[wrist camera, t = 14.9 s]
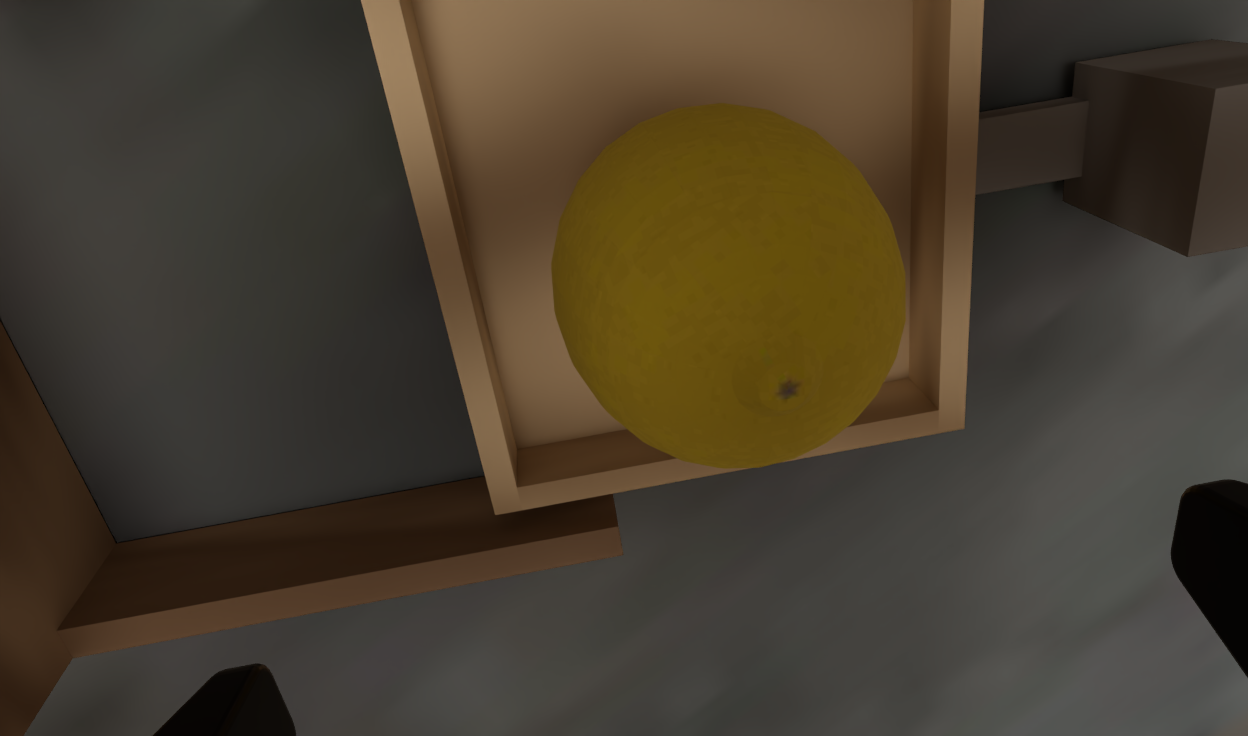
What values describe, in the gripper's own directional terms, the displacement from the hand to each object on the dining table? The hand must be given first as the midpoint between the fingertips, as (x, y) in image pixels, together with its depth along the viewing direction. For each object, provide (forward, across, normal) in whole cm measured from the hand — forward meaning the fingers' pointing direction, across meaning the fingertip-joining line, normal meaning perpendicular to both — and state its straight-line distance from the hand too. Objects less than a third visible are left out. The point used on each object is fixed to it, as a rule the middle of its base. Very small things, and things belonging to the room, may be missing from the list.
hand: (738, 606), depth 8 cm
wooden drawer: (+11, -5, -1) cm, 12 cm away
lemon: (+11, -1, -1) cm, 11 cm away
